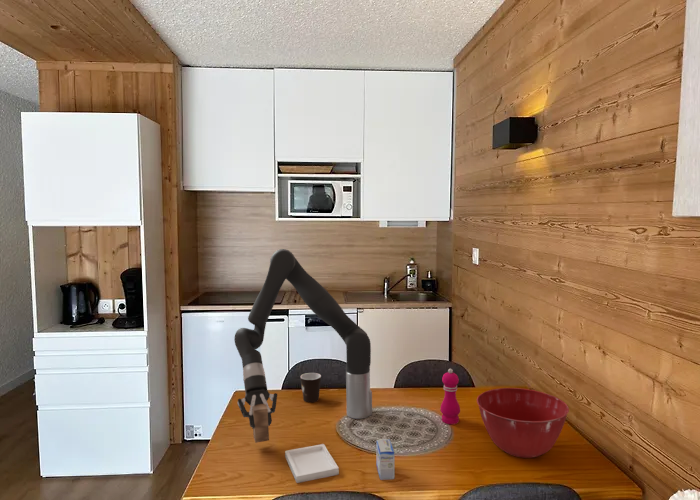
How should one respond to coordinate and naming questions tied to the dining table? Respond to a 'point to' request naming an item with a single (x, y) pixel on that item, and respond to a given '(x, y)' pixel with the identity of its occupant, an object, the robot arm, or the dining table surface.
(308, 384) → the coffee mug
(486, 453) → the dining table surface
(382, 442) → the medicine box
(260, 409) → the brown wooden block
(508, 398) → the mixing bowl
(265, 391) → the robot arm
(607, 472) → the dining table surface
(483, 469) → the dining table surface
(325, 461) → the tray
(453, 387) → the pepper mill
